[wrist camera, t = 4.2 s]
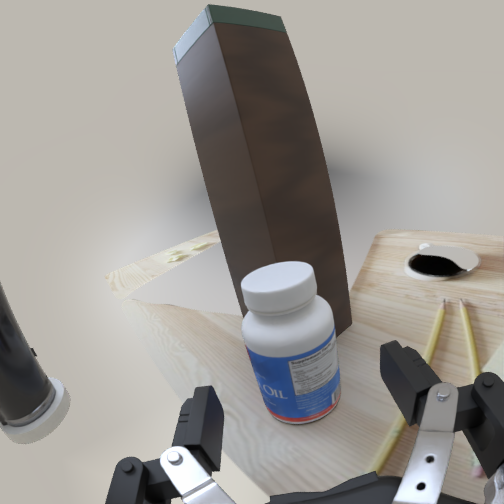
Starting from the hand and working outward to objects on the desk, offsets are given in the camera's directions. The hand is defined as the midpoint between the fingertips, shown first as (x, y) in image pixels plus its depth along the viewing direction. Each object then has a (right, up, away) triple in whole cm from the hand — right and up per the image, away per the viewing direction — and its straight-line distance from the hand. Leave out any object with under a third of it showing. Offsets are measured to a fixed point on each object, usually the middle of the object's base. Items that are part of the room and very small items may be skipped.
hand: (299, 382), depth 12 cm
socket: (-4, +23, +7) cm, 25 cm away
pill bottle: (+2, -5, +6) cm, 8 cm away
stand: (+3, -2, +14) cm, 15 cm away
